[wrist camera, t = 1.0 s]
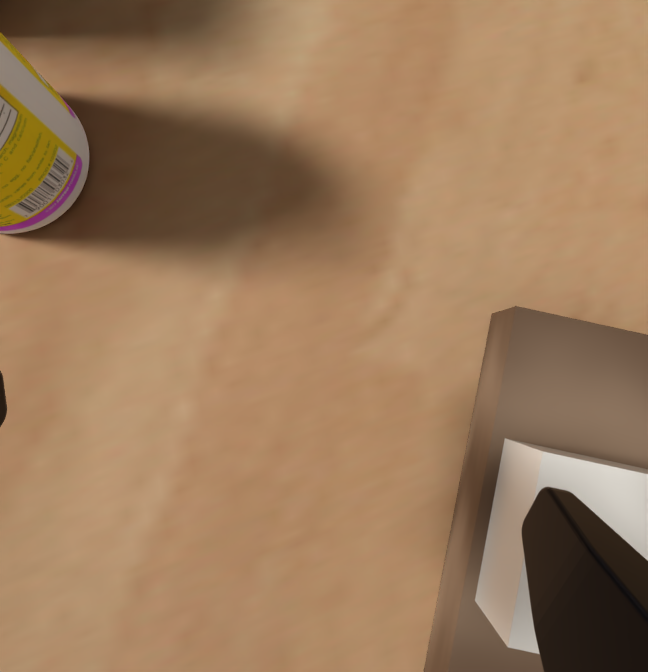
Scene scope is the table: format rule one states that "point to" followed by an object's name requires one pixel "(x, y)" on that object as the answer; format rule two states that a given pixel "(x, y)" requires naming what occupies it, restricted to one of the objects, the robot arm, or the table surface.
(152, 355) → the table surface
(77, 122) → the supplement bottle
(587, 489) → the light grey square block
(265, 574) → the table surface
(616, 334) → the brown wooden board
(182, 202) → the table surface
